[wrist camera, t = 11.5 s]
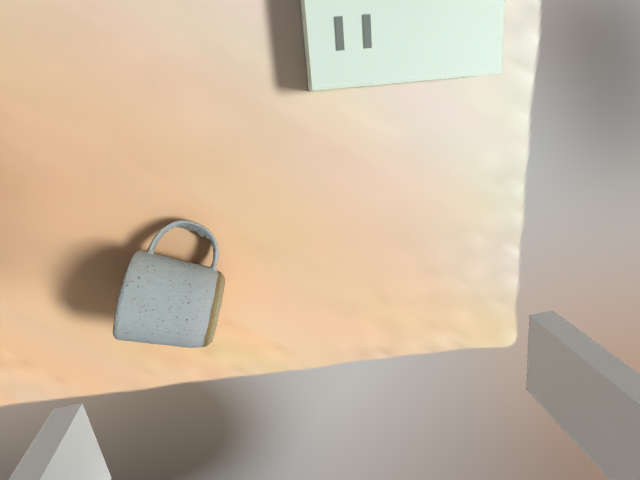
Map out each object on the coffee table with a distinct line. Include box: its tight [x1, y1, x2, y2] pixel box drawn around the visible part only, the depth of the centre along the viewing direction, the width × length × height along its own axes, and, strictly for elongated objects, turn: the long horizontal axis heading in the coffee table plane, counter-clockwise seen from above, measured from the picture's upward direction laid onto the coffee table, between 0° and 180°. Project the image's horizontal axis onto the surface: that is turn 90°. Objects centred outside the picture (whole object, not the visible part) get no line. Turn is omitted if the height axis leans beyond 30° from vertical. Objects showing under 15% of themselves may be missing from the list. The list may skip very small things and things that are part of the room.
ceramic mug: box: [113, 220, 225, 348], centre depth 38 cm, size 11×8×8 cm
